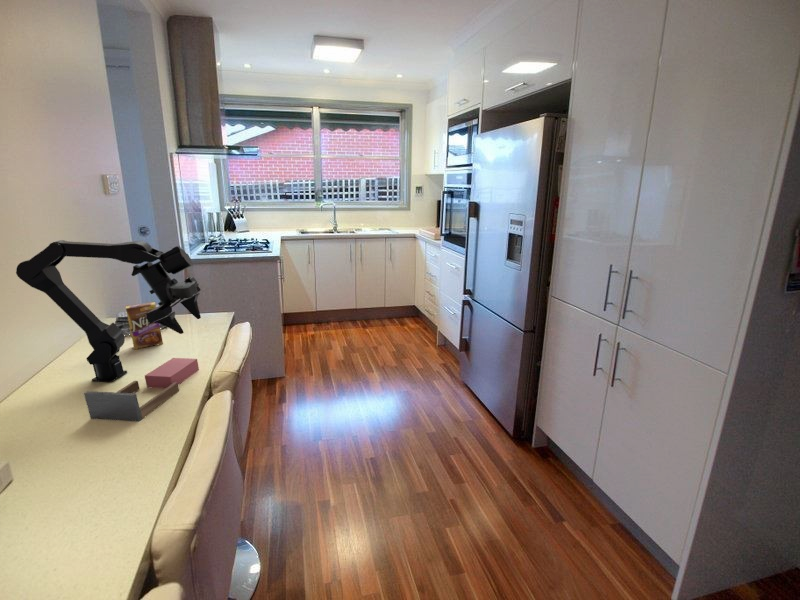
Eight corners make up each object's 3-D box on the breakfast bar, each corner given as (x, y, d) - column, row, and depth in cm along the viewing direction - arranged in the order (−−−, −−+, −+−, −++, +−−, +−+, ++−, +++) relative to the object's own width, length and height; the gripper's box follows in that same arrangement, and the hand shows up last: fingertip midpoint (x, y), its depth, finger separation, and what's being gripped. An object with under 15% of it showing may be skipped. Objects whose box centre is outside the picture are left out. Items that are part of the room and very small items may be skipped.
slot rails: (94, 416, 101) (92, 407, 100) (136, 388, 114) (134, 380, 113) (142, 419, 99) (140, 409, 98) (179, 390, 112) (177, 382, 112)
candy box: (134, 350, 141) (125, 308, 137) (134, 346, 144) (124, 305, 140) (163, 344, 146) (155, 303, 141) (162, 340, 149) (154, 300, 145)
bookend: (90, 418, 100) (83, 393, 98) (94, 416, 101) (87, 391, 99) (139, 421, 98) (133, 395, 96) (142, 419, 99) (136, 393, 97)
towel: (171, 328, 163) (167, 309, 161) (116, 338, 153) (112, 318, 151) (166, 318, 175) (163, 301, 173) (115, 327, 165) (111, 309, 163)
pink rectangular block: (147, 388, 115) (144, 375, 114) (175, 369, 126) (173, 357, 125) (173, 389, 114) (170, 376, 113) (199, 370, 125) (197, 358, 124)
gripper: (160, 285, 108) (194, 333, 113) (199, 261, 125) (227, 303, 130) (129, 298, 111) (164, 344, 116) (171, 273, 127) (200, 314, 133)
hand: (191, 325), depth 124 cm, fingers open, 9 cm apart
